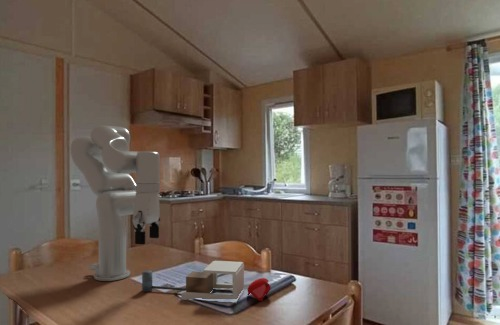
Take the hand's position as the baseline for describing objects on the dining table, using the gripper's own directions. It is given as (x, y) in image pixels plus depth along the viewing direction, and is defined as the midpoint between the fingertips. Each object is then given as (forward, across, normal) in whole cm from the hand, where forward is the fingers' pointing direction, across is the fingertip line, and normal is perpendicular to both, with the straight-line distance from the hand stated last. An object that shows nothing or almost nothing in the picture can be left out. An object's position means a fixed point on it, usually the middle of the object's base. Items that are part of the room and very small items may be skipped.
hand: (147, 240), depth 116 cm
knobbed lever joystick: (+16, 0, +10) cm, 19 cm away
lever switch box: (+16, 0, +22) cm, 27 cm away
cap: (+16, 0, +37) cm, 41 cm away
